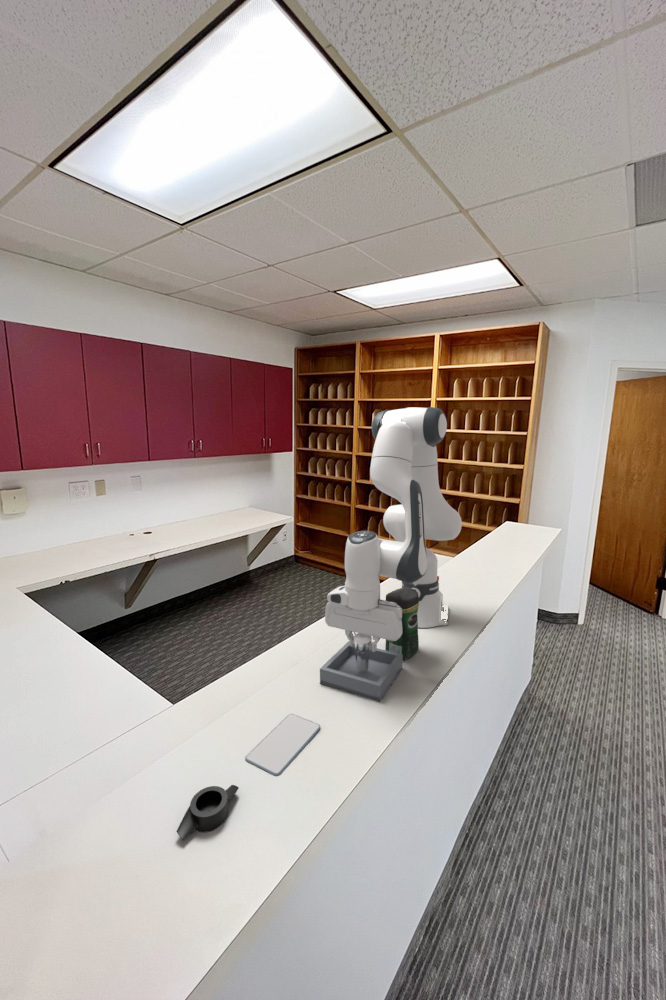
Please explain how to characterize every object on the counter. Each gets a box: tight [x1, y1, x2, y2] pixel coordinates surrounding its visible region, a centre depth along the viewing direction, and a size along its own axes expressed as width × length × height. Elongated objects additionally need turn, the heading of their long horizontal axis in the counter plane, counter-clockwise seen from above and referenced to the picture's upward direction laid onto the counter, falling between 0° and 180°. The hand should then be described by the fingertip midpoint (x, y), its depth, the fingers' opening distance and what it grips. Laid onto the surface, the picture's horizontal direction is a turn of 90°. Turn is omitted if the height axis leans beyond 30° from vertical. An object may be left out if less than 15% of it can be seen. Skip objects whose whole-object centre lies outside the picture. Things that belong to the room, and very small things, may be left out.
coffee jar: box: [384, 587, 420, 661], centre depth 116 cm, size 10×8×19 cm
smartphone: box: [244, 713, 321, 777], centre depth 83 cm, size 8×1×15 cm
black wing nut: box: [176, 784, 239, 841], centre depth 67 cm, size 8×10×3 cm
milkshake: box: [353, 632, 373, 671], centre depth 105 cm, size 4×5×10 cm
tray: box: [319, 640, 404, 703], centre depth 106 cm, size 16×16×4 cm
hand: (362, 648), depth 105 cm, fingers closed on milkshake, 4 cm apart
